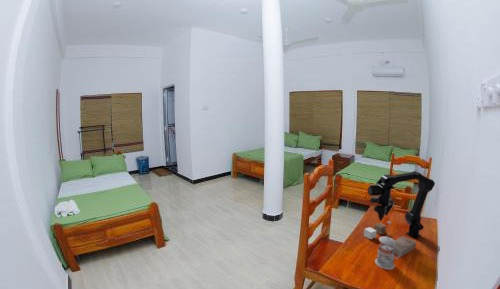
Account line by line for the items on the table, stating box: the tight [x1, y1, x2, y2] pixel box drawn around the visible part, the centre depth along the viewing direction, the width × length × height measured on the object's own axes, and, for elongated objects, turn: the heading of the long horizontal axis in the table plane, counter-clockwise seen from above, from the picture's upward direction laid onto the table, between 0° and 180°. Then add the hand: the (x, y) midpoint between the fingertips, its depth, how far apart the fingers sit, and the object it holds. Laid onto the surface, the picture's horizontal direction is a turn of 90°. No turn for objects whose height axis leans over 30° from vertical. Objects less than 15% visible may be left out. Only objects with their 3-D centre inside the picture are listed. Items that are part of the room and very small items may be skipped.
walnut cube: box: [373, 222, 387, 235], centre depth 174 cm, size 5×5×5 cm
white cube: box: [363, 226, 377, 240], centre depth 168 cm, size 5×5×5 cm
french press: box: [374, 220, 401, 270], centre depth 139 cm, size 10×12×25 cm
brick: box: [391, 235, 417, 258], centre depth 155 cm, size 17×8×5 cm, turn 123°
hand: (383, 217), depth 168 cm, fingers open, 9 cm apart
